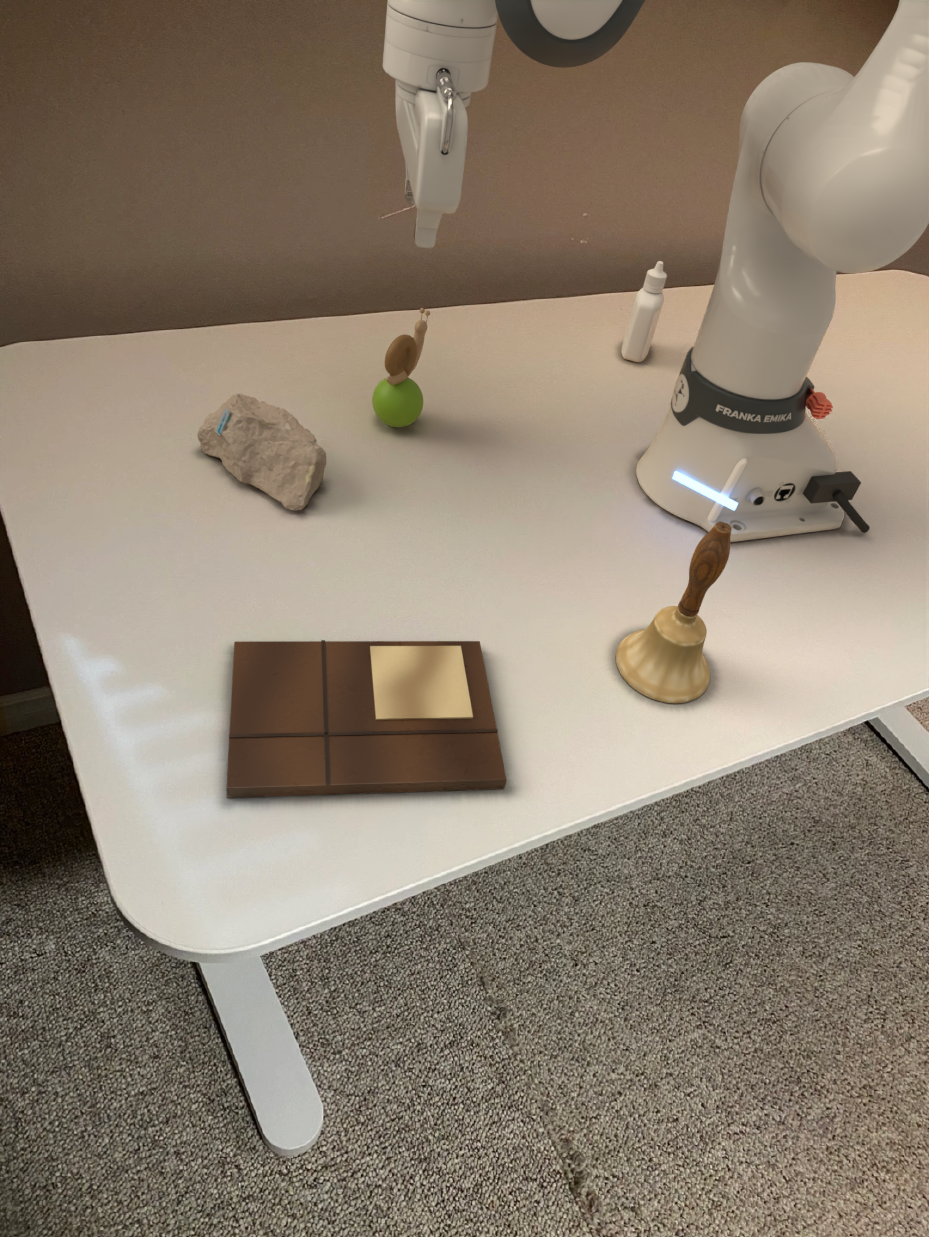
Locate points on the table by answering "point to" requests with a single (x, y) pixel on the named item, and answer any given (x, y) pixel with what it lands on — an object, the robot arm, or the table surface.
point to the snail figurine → (401, 380)
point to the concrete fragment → (265, 449)
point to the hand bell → (677, 633)
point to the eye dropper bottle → (644, 315)
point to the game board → (360, 718)
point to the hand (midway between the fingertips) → (418, 222)
